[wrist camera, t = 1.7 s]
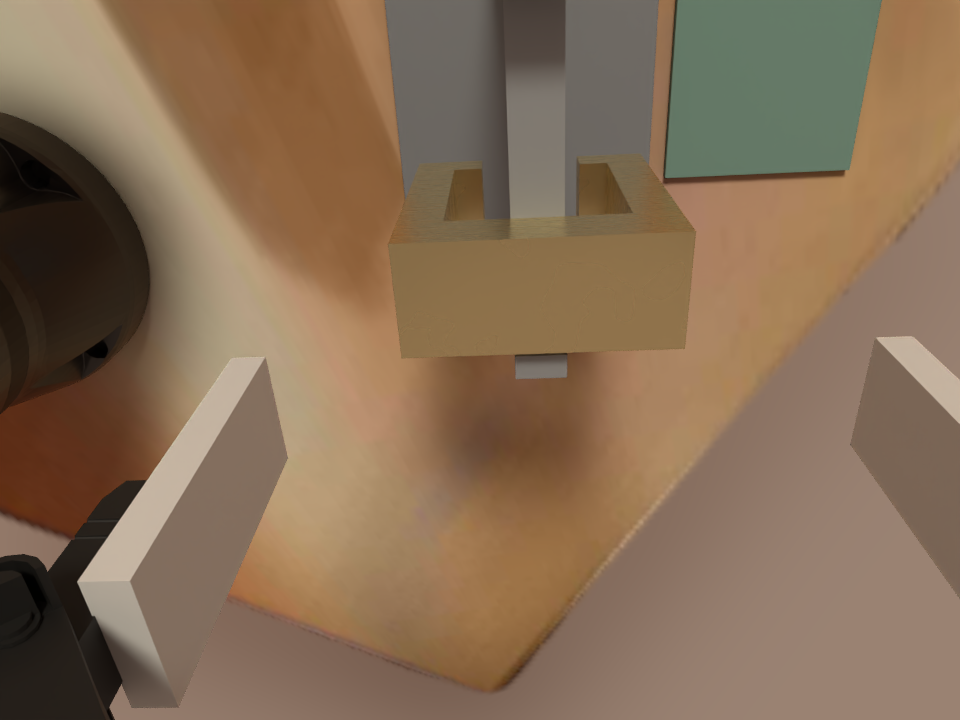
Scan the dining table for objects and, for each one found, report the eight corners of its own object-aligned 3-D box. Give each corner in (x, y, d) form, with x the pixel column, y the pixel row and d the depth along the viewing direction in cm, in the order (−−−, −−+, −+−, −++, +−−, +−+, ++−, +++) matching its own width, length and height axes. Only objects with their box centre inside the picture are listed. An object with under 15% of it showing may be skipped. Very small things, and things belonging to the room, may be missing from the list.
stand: (412, 234, 39) (350, 424, 23) (375, -128, 31) (245, -217, 15) (640, 224, 38) (739, 413, 22) (661, -147, 30) (835, -259, 15)
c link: (428, 252, 30) (401, 358, 22) (419, 163, 28) (388, 244, 20) (635, 243, 29) (685, 348, 21) (640, 153, 28) (696, 231, 20)
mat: (663, 176, 37) (665, 178, 36) (677, -26, 32) (679, -26, 32) (845, 167, 36) (849, 169, 36) (884, -38, 32) (889, -38, 32)
